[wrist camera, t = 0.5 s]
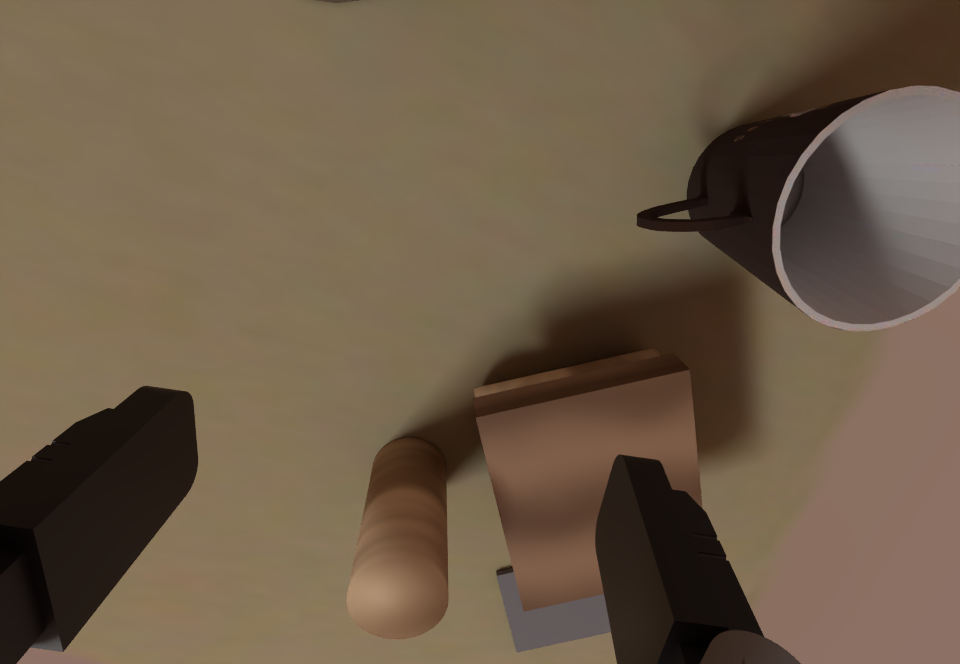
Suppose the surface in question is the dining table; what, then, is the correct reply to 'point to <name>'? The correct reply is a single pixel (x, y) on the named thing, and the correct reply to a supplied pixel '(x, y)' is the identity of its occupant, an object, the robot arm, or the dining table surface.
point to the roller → (402, 543)
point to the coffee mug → (838, 205)
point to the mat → (551, 617)
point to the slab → (579, 459)
